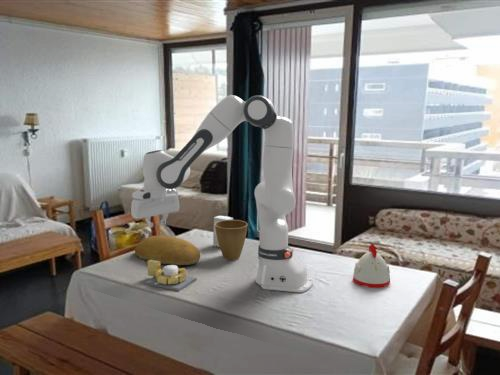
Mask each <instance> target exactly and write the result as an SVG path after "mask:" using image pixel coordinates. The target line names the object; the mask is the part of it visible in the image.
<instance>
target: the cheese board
mask: <svg viewBox="0 0 500 375" xmlns="http://www.w3.org/2000/svg"><path fill="white" fill-rule="evenodd" d="M146 261H147V275H148V276H149V277H156V281H157V282H158V283H161V284H166V285H167V284H168V285H170V284H177V283H178V282H179V283H181V282H182V281H184V280H185V279H186V276H187V272H186V268H185V267H181V268H179V267H178V275H176V276H175V274H174V273H173V274H170V276H169V277H168V276H163V268H162V266H161V264H162V263H161V262H160V261H155V260H149V261H148V260H146ZM161 268H162V269H161Z"/></svg>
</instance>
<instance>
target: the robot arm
mask: <svg viewBox="0 0 500 375" xmlns="http://www.w3.org/2000/svg"><path fill="white" fill-rule="evenodd" d="M275 110H276V109H275V107H274V104H273V102H272V101H271V99H269V98H267V97H266V96H264V95H261V94H260V95H253V96H250V98H248V99H247V100H245V101H244V100H243V99H242V98H240V97H239V96H237V95H233V94H230V95H227V96H226V97H224V98H223V99H221V100H220V102H218V103H217V104H216V105H215V106H214V107H213V108H212V109H211V110H210V111H209V112H208V113H207V115H206V116H205V117H204V119H203V120H202V122H201V123H200V125H199V127H198V128H197V129H196V131H195V133H194V134H193V136H192V137H191V138H190V140H189V141H188V142H187V143H186V144H185V146H183V147H182V148H181V150H180V151H179V152H178V153H177V154H176V155H175V156H173V155H170V153H169V154H168V153H166V152H165V151H164V150H162V149H158V150H152V151H149V152H145V154H144V155H143V160H142V174H143V177H144V180H143V187H141V188H140V189H138V190H135V191H133V192H132V193H131V196H132V198H133V199H132V201H131V204H130V206H131V207H130V208H131V209H130V210H131V211H130V212H131V213H130V214H131V217H132V218H133V219H136V220H141V219H144V220H145V221H146V223H147V228H148V229H150V228H154V222H151V219H152V218H151V217H154V216H155V217H156V216H161V215H162V219H160V225H161V226H164V225H167V220H168V217H169V214H171V213H177V212H179V210H180V201H179V192H178V191H177V189H176V188H178V187H179V186H181V184H183V183H184V182H185V181H187V180H188V179H189V177H190V175H191V172H192V170H191V166H192V164H194V163H195V162H196V160H197V159H198V158H199V157H200V156H201V155H202V154H203V153H204V152H206V151H207V150H208V149H210V148H212V147H214V146H216V145H218V144H220V143H221V142H222V141H224V140H225V139H226V138H227V137H229V136H230V135H231V134H232V133H233V131H234V130H235V129H236V128H237V127H238V126H239V125H240V124H241V123H243V122H248V123H250V124H251V126H254V127H258V128H261V129H262V130H263V132H264V142H263V143H264V144H263V156H262V163H261V164H262V170H263V177H264V178H263V180H264V181H260V183H258V184H257V185H256V186H255V188H254V194H253V195H254V198H255V204H256V212H257V218H258V224H259V225H258V227H259V228H258V229H259V244H258V248H257V250H258V251H257V255H258V265H257V266H258V267H257V273H256V277H255V280H254V281H255V283H256V284H257V285H259V286H260V287H261V289H263V290H270V291H279V292H282V291H283V292H292V293H305V292H306V291H308V290H309V289H310V288H312V286H313V285H314V279H313V278H312V277H309V276H308V273H307V272H308V271H307V268H306V266H305V265H304V263H301V262H300V261H299V260H298V259H297V258H296V257H294V256H293V254H294V253H293V252H294V249H295V248H294V247H292V248H291V247H290V246H289V225H288V223H287V219H286V216H287V215H289V214H290V213H292V212H293V211H294V209H295V207H296V204H297V200H296V196H295V192H294V184H293V173H292V172H293V171H292V167H293V156H294V144H295V129H294V123H293V121H292V120H291V119H289V118H288V117H286V116H280V115H278V114H277V113H276V111H275Z"/></svg>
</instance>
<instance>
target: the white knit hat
mask: <svg viewBox="0 0 500 375" xmlns="http://www.w3.org/2000/svg"><path fill="white" fill-rule="evenodd" d="M390 273H391V271H390V265H388V264H387V262H386V261H385V259H384V258H383V257H382V255H381V254H379V253H378V250H377V247H376V246H375V244H374V243H370V245H369V246H368V252H366V253H365V254H363V255H362V256H361V257H360V258H359V260H358V261H357V262H355V265H354V269H353V274H352V276H353V279H352V280H353V282H354V283H355V284H357V285H358V286H361V287H365V288H370V289H371V288H372V289H380V288H382V289H383V288H386V287H388V286H390V284H391V275H390Z"/></svg>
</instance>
